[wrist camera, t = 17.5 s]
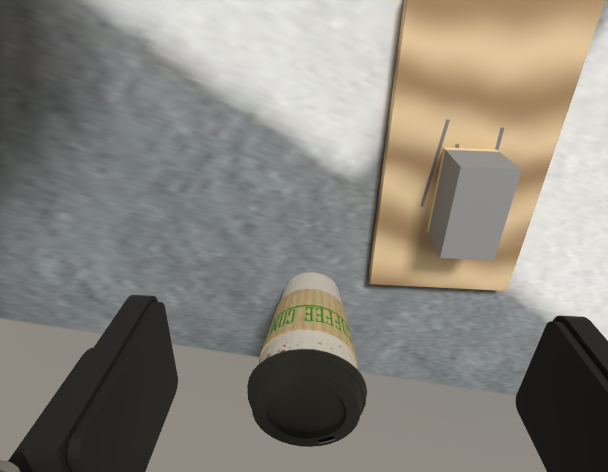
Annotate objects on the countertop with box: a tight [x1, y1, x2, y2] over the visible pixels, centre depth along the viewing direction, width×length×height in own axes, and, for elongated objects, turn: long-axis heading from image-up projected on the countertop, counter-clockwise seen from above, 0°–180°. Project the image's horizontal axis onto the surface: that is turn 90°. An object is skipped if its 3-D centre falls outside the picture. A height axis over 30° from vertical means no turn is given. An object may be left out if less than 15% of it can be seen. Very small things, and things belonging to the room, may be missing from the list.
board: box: [369, 0, 605, 291], centre depth 36 cm, size 26×14×2 cm, turn 178°
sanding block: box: [427, 148, 522, 260], centre depth 34 cm, size 8×4×5 cm, turn 178°
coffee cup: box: [248, 272, 367, 447], centre depth 38 cm, size 10×10×15 cm
